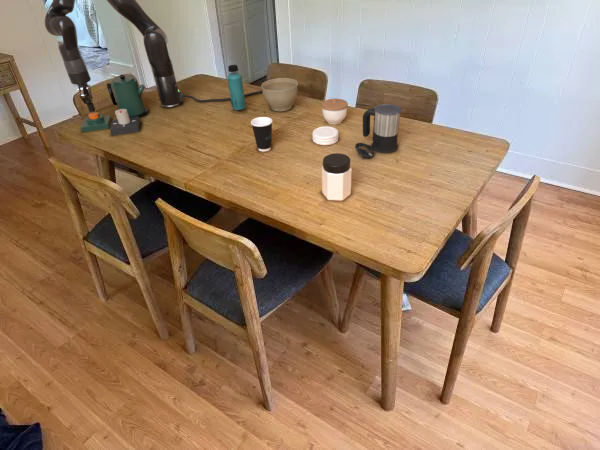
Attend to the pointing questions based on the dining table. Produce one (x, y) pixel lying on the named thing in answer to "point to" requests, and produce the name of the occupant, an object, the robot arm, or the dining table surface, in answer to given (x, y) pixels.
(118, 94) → the kettle
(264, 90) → the planter bowl
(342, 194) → the jar
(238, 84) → the beverage bottle
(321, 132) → the coaster
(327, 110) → the trinket box
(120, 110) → the dial
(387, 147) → the milk frother
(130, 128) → the dial base
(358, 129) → the dining table surface
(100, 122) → the switch block
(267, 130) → the dixie cup
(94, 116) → the button
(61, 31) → the robot arm
